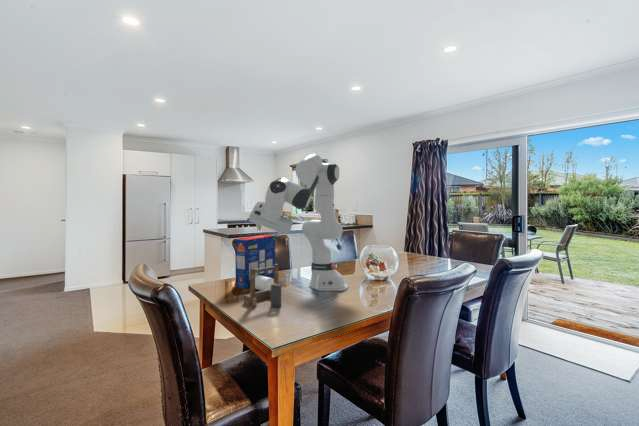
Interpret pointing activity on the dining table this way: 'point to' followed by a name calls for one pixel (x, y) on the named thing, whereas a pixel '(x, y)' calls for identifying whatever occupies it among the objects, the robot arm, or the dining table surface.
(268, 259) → the pasta box
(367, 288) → the dining table surface
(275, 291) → the grey corked bottle
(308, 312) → the dining table surface
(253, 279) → the wooden rack frame
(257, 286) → the mug
